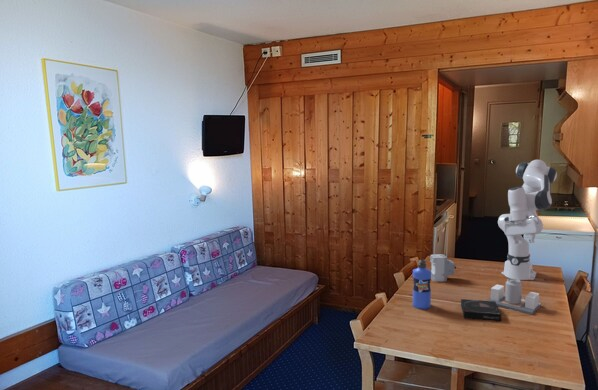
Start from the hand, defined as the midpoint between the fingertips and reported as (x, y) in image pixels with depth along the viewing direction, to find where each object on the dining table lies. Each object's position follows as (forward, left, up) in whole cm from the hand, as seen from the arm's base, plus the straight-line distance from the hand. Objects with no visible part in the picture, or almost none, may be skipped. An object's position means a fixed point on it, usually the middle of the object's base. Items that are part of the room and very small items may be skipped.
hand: (524, 243), depth 219 cm
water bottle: (+41, -36, -32) cm, 63 cm away
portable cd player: (+30, -10, -32) cm, 45 cm away
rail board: (+9, -1, -31) cm, 32 cm away
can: (+9, -1, -30) cm, 32 cm away
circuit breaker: (-5, -47, -32) cm, 57 cm away
